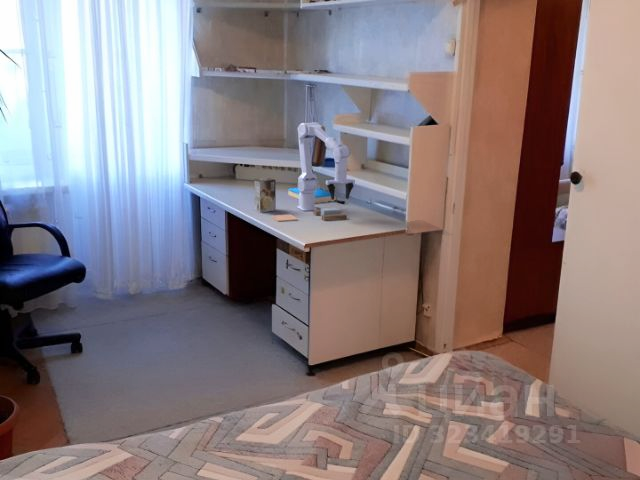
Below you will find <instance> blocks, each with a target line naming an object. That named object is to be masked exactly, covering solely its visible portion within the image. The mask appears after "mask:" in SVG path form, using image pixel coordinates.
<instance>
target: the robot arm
mask: <svg viewBox="0 0 640 480" xmlns="http://www.w3.org/2000/svg"><path fill="white" fill-rule="evenodd" d="M297 133H298V134H297V135H298V139H297V140H298V149H299V156H300V157H299V158H300V169H301V175H299V176H298V178H297V180H298V181H297V188H298V189H299V191H300V193H299V199H298V205H297V206H296V208H298V209H299V210H301V211H304V212H305V211H306V212H307V211H314V210H318V208H316V207H315V204H316V203H315V192H316V190H317V189H319V181H318V179H317V175H316V174H314V172H313V166H312V165H313V164H312V155H311V146H310V144H311V143H310V142H311V140H312V139H313V138H315V137H317V138H318V139H320V140H321V141H323V143H324V146H325V147H326V148H327V149H328V150H329V151H330V152H331V153H332V155H333V158H334V159H333V160H334V179H329V180H327V179H326V180H325V185H326V186H327V189H328V190H329V191H328V192H330V195H331V199H332V200H334V194H335V190H336V186H335V185H344V186H345V199H346V200H348V199H350V196H351V195H350V194H351V192H352V190H353V188H354V186H355V184H356V180H355V179H354V178H352V179H351V178H350V179H349V178H348V177H347V174H348V158H349V157H350V155H351V150H350V147H349V146H348V145H344V144H342V143H341V142H339V141H338V140H337V138H336V137H335V136H329V135H328V134H327V133H326V131H324V130H323V129H322V126H321V125H320V123H319V122H317V121H315V122H305V123H304V122H302V123H300V124H299V125H298V127H297Z"/></svg>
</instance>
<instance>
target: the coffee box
mask: <svg viewBox="0 0 640 480" xmlns="http://www.w3.org/2000/svg"><path fill="white" fill-rule="evenodd" d="M253 180H254V181H253V182H254V183H253V185H254V186H253V187H254V191H253V192H254V194H253V198H254V211H255V212H259V213H265V212H274V211H277V210H276V207H277V203H276V202H277V201H276V199H277V198H276V196H277V195H276V179H274V178H271V177H264V178H255V179H253Z"/></svg>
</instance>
